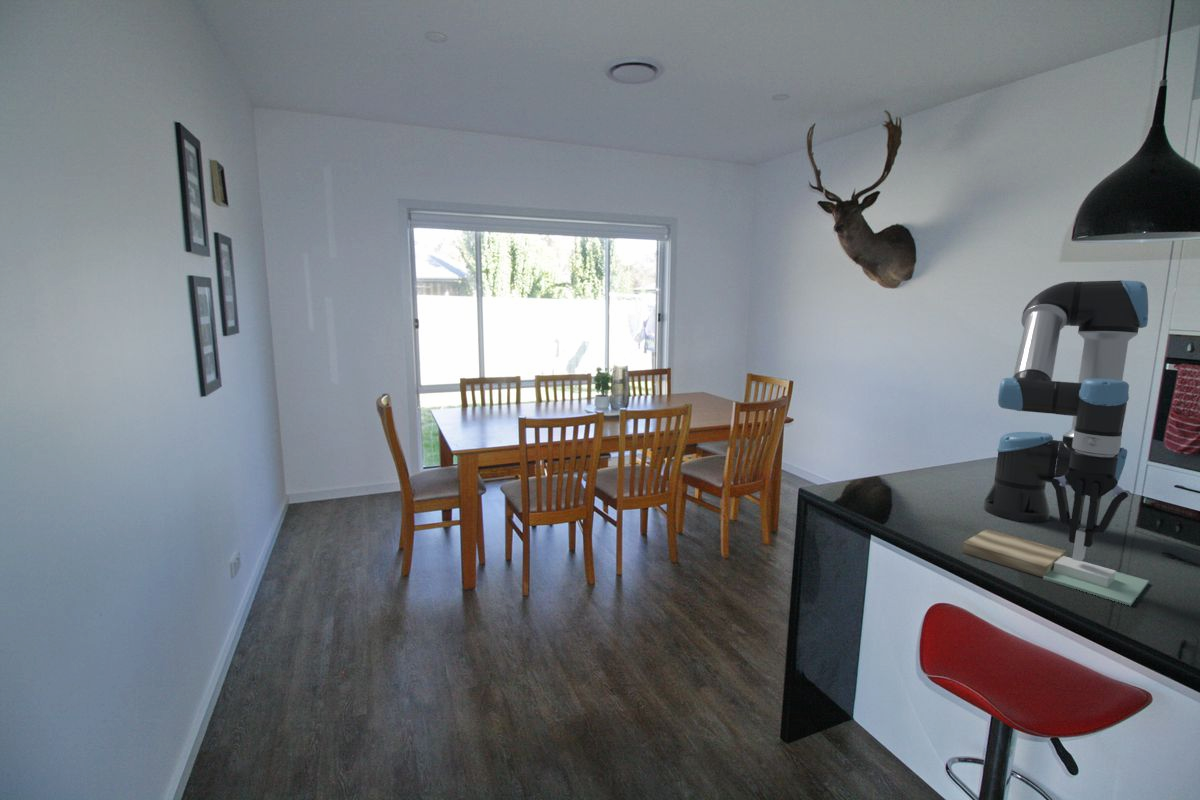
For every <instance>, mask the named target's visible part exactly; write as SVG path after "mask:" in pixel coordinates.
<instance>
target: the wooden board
mask: <svg viewBox="0 0 1200 800" xmlns="http://www.w3.org/2000/svg"><path fill="white" fill-rule="evenodd" d="M1066 551H1067V550H1065V549H1060V548H1056V547H1052V546H1050V545H1046V544H1043V543H1039V542H1035V541H1032V540H1028V539H1024V538H1020V537H1017V536H1013V535H1009V534H1006V533H1002V532H1000V531H999V532H998V531H995V530H991V529H988V528H986V529H984V530H982V531H980V532H979V533H977V534H975V535H973V536H971V537H970V538H968V539H966V540H965V541H963V543H962V550H961V552H962V553H964V554H967V555H969V556H973V557H976V558H980V559H981V560H984V561H985V560H986V561H990V562H993V563H995V564H999V565H1001V566H1006V567H1008V568H1012V569H1015V570H1018V571H1021V572H1025V573H1028V574H1031V575H1034V576H1037V577H1041V578H1043V576H1044V575H1046V574H1047V573H1048V572H1049V571H1050V570H1052V569H1053V568H1054V563H1055V562H1056V561H1057V560H1059V559H1060V558H1061V557H1062V556H1066V553H1067V552H1066Z"/></svg>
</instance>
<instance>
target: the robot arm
mask: <svg viewBox="0 0 1200 800" xmlns="http://www.w3.org/2000/svg"><path fill="white" fill-rule="evenodd" d="M1148 294H1149V293H1148V289H1147V285H1146V284H1145V283H1144V282H1142V281H1138V280H1124V279H1122V280H1096V281H1095V280H1094V281H1093V280H1090V281H1064V282H1060V283H1057V284H1055V285H1052V286H1050V287H1047V288H1045V289H1043V290H1042V291H1040V292H1039V293H1038V294H1036V295H1035V296H1034V297H1033V298H1032V299H1031V300H1030V301H1029V302H1028V303H1027V304H1026V306H1025V307H1024V309H1023V311H1022V315H1021V325H1022V327H1023V331H1022V336H1021V342H1020V345H1019V349H1018V352H1017V353H1018V354H1017V357H1016V362H1015V367H1014V372H1013V375H1012V377H1004V378H1002V379H1001V381H1000V385H999V389H998V395H997V396H998V398H997V404H998V406H999V407H1000V408H1002V409H1006V410H1012V411H1017V412H1028V413H1038V414H1039V413H1041V414H1053V415H1061V416H1070V417H1071V416H1072V422H1071V423H1072V424H1071V429H1069V430H1068V431H1066V432H1064V433H1063V435H1062V440H1057V439H1054V437H1053V435H1052V434H1051V433H1049V432H1039V431H1015V432H1013V431H1012V432H1008V433H1005V434H1003V435H1001V437H1000V438H999V444H998V448H997V449H996V451H997V459H996V465H995V472H994V480H993V484H992V486H991V488H990V489H989V491H988V493H987V494H986V496H985V498H984V502H983V509H984V510H985V511H986V512H988V513H990V514H992V515H994V516H997V517H1000V518H1004V519H1008V520H1011V521H1012V520H1013V521H1017V522H1025V523H1044V522H1048V521H1049V520H1050V516H1051V509H1050V506H1049V502H1048V498H1047V494H1046V484H1047V483H1050V484H1051V485H1052V487H1053V489H1054V490H1055V494H1056V495H1055V497H1056V500H1057V501H1056V502H1057V508H1058V515H1059V520H1060V523H1061V524H1063V525H1066V526H1068V527H1069V536H1068V541H1069V543H1070V544H1071V543H1072V544H1073V551H1072V557H1071V558H1072V559H1074V560H1077V561H1083V560H1084V559H1085V557H1086V556H1085V555H1086V550H1087V548H1091V547H1092V546H1093V544H1094V540H1095V535H1096V533H1101V534H1102V533H1104V532H1106V531H1107V530H1108V528H1109V527H1110V524H1111V523H1112V520H1114V517H1115V515H1116V513H1117V511H1118V509H1119V508H1120V505H1121V504H1122V502H1123V501H1124V500H1125V499H1126V500H1127V498H1128V497H1130V495H1131V492H1130V490H1126V489H1123V488H1122V487H1121V486H1119V485H1118V483H1119V481H1120V479H1121V476H1122V473H1123V470H1124V467H1125V465H1126V460H1127V457H1128V449H1126V448H1125V447H1121V445H1122V438H1123V437H1122V436H1123V435H1122V434H1123V427H1124V422H1125V416H1126V411H1127V405H1128V401H1129V400H1130V398H1129V397H1130V396H1129V395H1130V393H1129V391H1130V390H1129V389H1130V385H1129V383H1128V382H1127V381H1124V380H1123V378H1124V372H1125V366H1126V359H1127V353H1128V346H1129V342H1130V340H1131V339H1133V338H1134V337H1136V336H1138V335H1139V329H1142V328H1146V327H1147V326H1148V322H1149V320H1148V319H1149V295H1148ZM1065 326H1070V327H1078V330H1077V333H1078V335H1080V337H1081V338H1082V339H1083V349H1082V355H1081V361H1080V369H1079V375H1078V382H1072V381H1071V382H1069V381H1059V380H1058V381H1055V380H1053V374H1054V370H1055V369H1054V368H1055V363H1056V358H1057V357H1056V356H1057V352H1058V346H1059V340H1060V333H1061V330H1063V328H1065ZM1066 486H1070V487H1071V489H1072V491H1074V495H1073V498H1074V499H1073V504H1072V505H1073V506H1072V512H1071V514H1070V506H1069V501H1068V496H1067V489H1066V488H1067V487H1066ZM1110 491H1113V493H1112V497H1113V499H1112V500H1111V502H1110V504H1109V506H1108V507H1107V509H1106V510H1105V513H1104V515H1103V517H1102V519H1101V521H1100V523H1099V524H1098V517H1099V512H1100V505H1101V501H1102V497H1103V496H1105V495H1107V493H1109V492H1110ZM1086 496H1088V497H1089V504H1088V512H1087V518H1086V524H1085V525H1086V526H1085V528H1083V527H1080V526H1082V519H1083V518H1082V516H1083V511H1084V505H1085V498H1086Z"/></svg>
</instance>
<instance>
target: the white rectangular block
mask: <svg viewBox="0 0 1200 800" xmlns="http://www.w3.org/2000/svg"><path fill="white" fill-rule="evenodd" d="M1053 571H1054V572H1057V573H1061V574H1064V575H1067V576H1070V577H1074V578H1077V579H1080V580H1084V581H1087V582H1090V583H1093V584H1097V585H1100V586H1103V587H1108V586H1109V585H1110V584H1111V583H1112V582H1113V581H1114V580H1115V575H1116V572H1117V570H1114V569H1113V568H1112V569H1110V568H1108V567H1104V566H1101V565H1098V564H1093V563H1090V562H1086V561H1083V560H1082V561H1077V560H1074V559H1072V557H1069V556H1066V555H1065V556H1062V557H1061V558H1060V559H1059V560H1057V561H1056V562H1055V563H1054V569H1053Z"/></svg>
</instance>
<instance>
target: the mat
mask: <svg viewBox="0 0 1200 800" xmlns="http://www.w3.org/2000/svg"><path fill="white" fill-rule="evenodd" d="M1053 569H1054V568H1053ZM1053 569H1052V570H1050V571H1049V572H1048V573H1047V574H1046V575H1044V576H1043V577H1042V580H1044V581H1048V582H1050V583H1054V584H1057V585H1061V586H1063V587H1067V588H1070V589H1073V590H1076V589H1077V591H1079V590H1080V591H1079V592H1082V591H1083V592H1084V593H1086V592H1087V593H1086V594H1090V595H1092V594H1093V596H1095V595H1096V596H1095V597H1098V596H1099V598H1102V599H1106V600H1108V599H1109V601H1111V600H1112V602H1114V601H1115V603H1118V602H1119V603H1118V604H1121V603H1122V605H1124V604H1125V606H1127V605H1129V606H1128V607H1132V605H1133V604H1134V602H1135V601H1136V600H1137V599H1138V598H1139V596H1140V595H1141V593H1142V592H1143V591H1144V590H1145V588H1146V587H1147V586H1148V584H1149V580H1147V579H1144V578H1141V577H1137V576H1133V575H1129V574H1126V573H1123V572H1119V571H1116V575H1115V580H1114V581H1113V582H1112V583H1111V584H1110V585H1109V586H1108V587H1103V586H1100V585H1097V584H1093V583H1090V582H1087V581H1084V580H1080V579H1077V578H1074V577H1070V576H1067V575H1064V574H1061V573H1057V572H1054V571H1053ZM1136 598H1137V599H1136Z"/></svg>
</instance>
